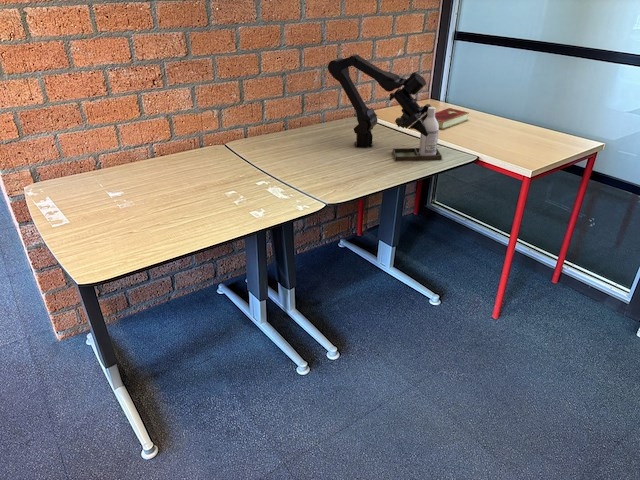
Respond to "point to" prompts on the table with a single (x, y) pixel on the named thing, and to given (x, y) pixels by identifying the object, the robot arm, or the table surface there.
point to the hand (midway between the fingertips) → (430, 132)
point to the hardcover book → (450, 118)
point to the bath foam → (429, 135)
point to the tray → (413, 155)
